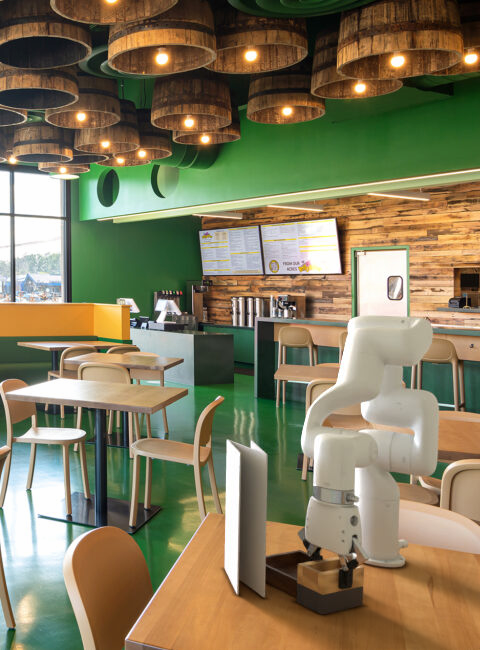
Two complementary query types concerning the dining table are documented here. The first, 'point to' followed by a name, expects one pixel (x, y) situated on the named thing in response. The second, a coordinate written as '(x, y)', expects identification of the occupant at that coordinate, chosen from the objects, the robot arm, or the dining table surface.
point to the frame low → (329, 599)
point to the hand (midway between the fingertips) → (330, 580)
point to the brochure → (246, 515)
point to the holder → (284, 570)
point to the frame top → (326, 575)
